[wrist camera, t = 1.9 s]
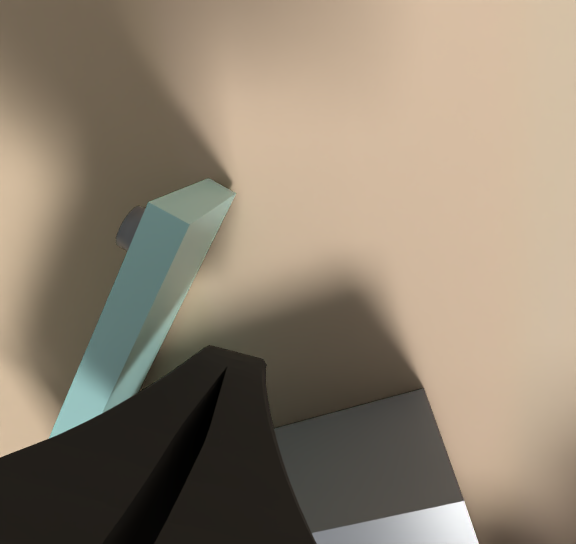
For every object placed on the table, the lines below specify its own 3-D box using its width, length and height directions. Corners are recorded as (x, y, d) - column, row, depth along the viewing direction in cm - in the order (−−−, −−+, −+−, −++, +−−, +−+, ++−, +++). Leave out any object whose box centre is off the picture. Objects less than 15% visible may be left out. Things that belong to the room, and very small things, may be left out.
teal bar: (105, 463, 14) (25, 582, 11) (63, 442, 14) (-33, 555, 11) (238, 193, 11) (190, 227, 7) (185, 164, 11) (107, 182, 7)
